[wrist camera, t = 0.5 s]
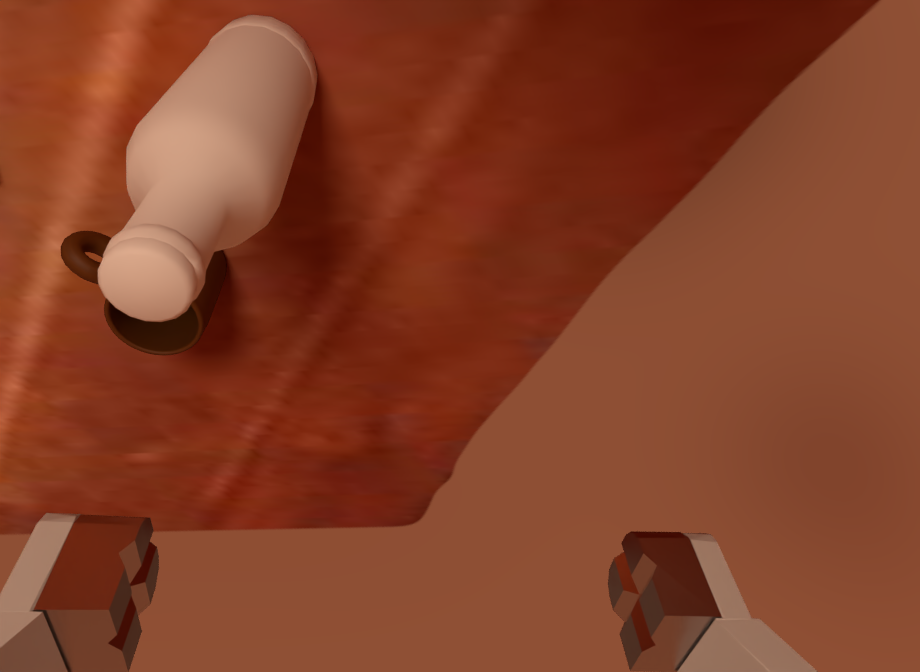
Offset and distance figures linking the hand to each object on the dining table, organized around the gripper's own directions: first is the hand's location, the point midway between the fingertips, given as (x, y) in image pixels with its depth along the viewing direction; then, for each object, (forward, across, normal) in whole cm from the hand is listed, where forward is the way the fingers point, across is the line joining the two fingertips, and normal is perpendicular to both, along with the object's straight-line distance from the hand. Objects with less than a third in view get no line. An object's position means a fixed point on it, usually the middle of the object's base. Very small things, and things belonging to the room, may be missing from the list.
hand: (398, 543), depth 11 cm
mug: (+46, +19, +22) cm, 54 cm away
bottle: (+46, +9, +6) cm, 47 cm away
